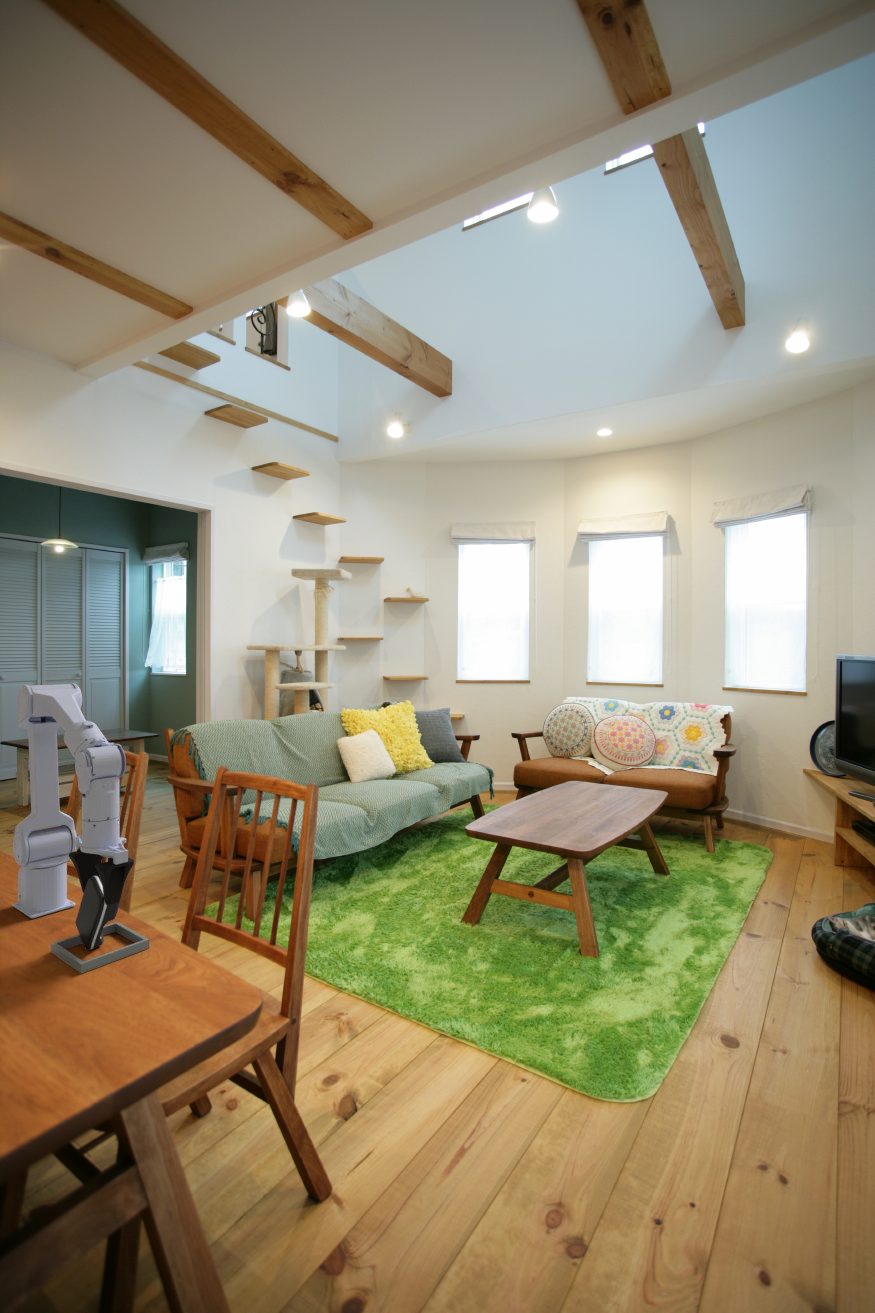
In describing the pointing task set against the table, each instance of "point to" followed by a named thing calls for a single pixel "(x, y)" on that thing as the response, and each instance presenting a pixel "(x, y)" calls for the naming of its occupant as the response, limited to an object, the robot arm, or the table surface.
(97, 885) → the battery charger
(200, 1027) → the table surface
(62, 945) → the holder frame
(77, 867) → the robot arm
